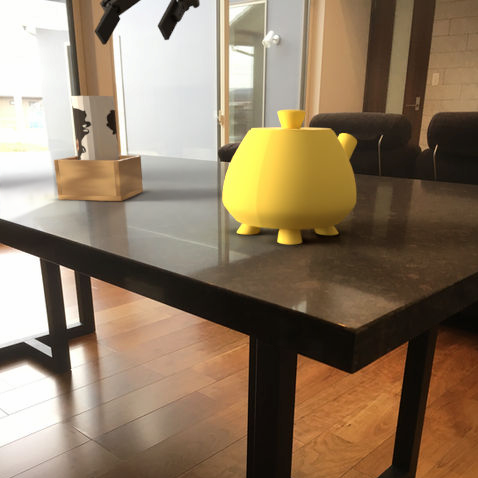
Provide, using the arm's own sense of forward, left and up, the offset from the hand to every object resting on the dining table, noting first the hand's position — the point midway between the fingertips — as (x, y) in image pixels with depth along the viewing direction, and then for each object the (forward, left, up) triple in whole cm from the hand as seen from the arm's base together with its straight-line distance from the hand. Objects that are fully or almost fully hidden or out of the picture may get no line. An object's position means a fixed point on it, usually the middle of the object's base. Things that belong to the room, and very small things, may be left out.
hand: (130, 35), depth 89 cm
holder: (-3, -10, -26) cm, 28 cm away
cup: (-4, -10, -25) cm, 27 cm away
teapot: (+32, -33, -26) cm, 52 cm away
